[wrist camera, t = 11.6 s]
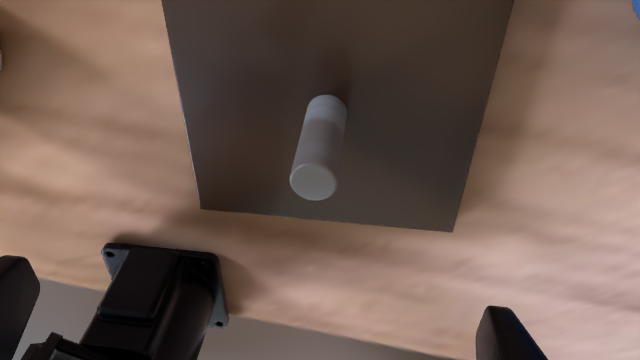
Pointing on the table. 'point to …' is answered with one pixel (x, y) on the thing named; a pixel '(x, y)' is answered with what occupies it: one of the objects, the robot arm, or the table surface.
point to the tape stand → (335, 104)
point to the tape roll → (636, 7)
